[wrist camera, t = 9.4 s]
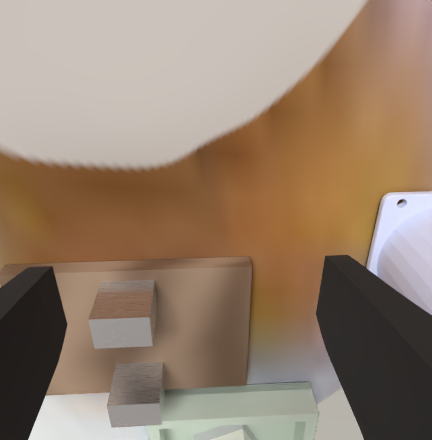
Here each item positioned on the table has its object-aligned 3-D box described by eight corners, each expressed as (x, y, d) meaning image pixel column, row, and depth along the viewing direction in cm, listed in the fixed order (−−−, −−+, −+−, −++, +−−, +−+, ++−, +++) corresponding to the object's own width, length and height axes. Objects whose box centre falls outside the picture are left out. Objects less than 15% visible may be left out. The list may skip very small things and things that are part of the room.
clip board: (249, 256, 23) (260, 301, 19) (244, 373, 27) (252, 427, 24) (5, 264, 22) (-31, 313, 18) (43, 383, 27) (21, 439, 23)
